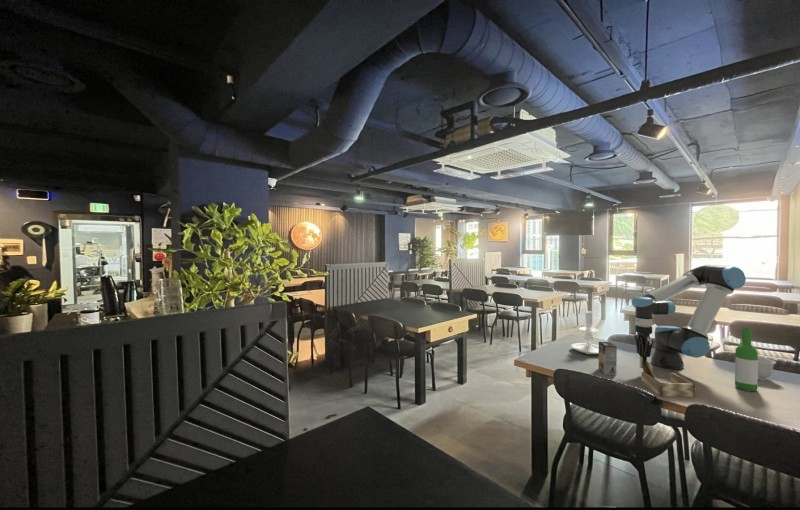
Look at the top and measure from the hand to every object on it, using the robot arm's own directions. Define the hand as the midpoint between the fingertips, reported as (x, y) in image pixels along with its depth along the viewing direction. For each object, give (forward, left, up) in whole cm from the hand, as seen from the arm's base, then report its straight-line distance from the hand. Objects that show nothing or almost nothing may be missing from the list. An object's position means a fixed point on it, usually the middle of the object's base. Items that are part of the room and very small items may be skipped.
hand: (643, 367), depth 181 cm
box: (0, +18, -4) cm, 18 cm away
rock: (0, +5, -4) cm, 7 cm away
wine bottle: (-39, +14, -4) cm, 42 cm away
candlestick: (+13, -36, -4) cm, 38 cm away
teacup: (-58, -1, -4) cm, 58 cm away
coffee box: (+17, -4, -4) cm, 18 cm away
